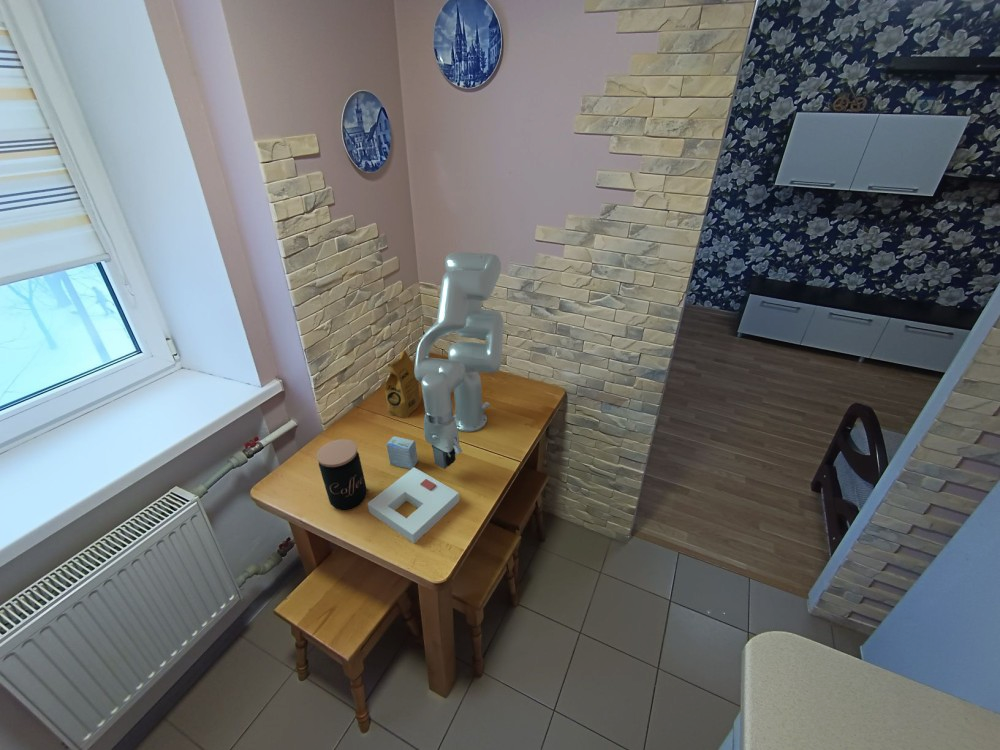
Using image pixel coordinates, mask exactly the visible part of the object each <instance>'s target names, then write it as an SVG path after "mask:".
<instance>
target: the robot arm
mask: <svg viewBox="0 0 1000 750" xmlns="http://www.w3.org/2000/svg"><path fill="white" fill-rule="evenodd" d="M444 265H445V266H444V267H445V271H446V272H444V274H443V276H442V279H441V285H440V286H441V287H440V291H439V293H440V294H439V301H438V306H437V307H438V309H437V317H436V320H435V322H434V324H433V325H431V326H430V327H429V328H428V329H427V330H426V331H425V333H424V334H423V335H422V337H421V339H420V341H419V342H418V345H417V347H416V351H415V352H416V354H415V360H414V366H415V367H414V374H415V378H416V379H417V380H418V383H420V385H421V391H422V399H423V404H424V405H423V407H424V412H425V414H424V418H423V434H424V439H425V441H426V442H427V443H428V444H430V445H431V448H432V449H433V446H435V447H437V448H439V449H441V450H442V451H444V452H446V454H447V456H446V462H447V466H448V467H449V466H451V465H452V464H454V462H455V461H456V460H455V457H456V455H460V454H461V453H463V449H462V448H461V446H460V438H459V437H460V436H459V431H460V432H465V433H470V432H471V433H472V432H473V433H474V432H476V431H479V430H481V429H483V428H484V427H485V425H487V421H488V420H487V419H488V417H487V415H486V414H485V413H484V412H485V411H486V409H487V408H489V407H490V406H491V405H490V403H489V402H488V401H485V402H484V403H483V399H482V397H483V396H482V395H483V394H482V380H481V379H482V378H481V376H480V374H479V373H483V374H484V373H485V374H495V373H498V372H499V370H500V368H501V365H502V364H501V363H502V358H503V357H502V356H503V355H502V354H503V343H504V342H503V341H504V318H503V315H502V314H501V313H500V312H499V311H498V310H490V309H484V308H482V307H483V306H482V305H483V304H482V303H483V302H484V301H488V299H490V298H491V296H492V294H493V292H494V289H495V287H496V284H497V283H498V280H499V278H500V275H501V270H502V263H501V259H500V257H499V256H497V254H494V253H488V252H487V253H485V252H471V251H470V252H469V251H468V252H467V251H457V252H456V251H455V252H451V253H448V255H446V256H445V260H444ZM451 333H455V334H456V335H458V337H461V338H467V339H477V340H486V341H487V343H486V342H485V343H481V342H473V341H457V342H453V343H452V344H451V345H450V346H449V348H448V351H447V357H448V359H445V358H436V357H429V355H430V351H431V349H432V346H433V345H434V344H435V343H436V342H437V341H438V340H439V339H441V338H442V337H444V336H446V335H449V334H451ZM452 393H453V398H454V411H455V413H454V412H453V403H452V402H453V401H452Z"/></svg>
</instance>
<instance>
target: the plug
mask: <svg viewBox="0 0 1000 750" xmlns="http://www.w3.org/2000/svg"><path fill="white" fill-rule="evenodd" d="M432 454H433V459H434V465H436V466H438V467H440V468H442V469H443V470H445V469H447V468H448V467H449V466H447V462H446V456H447V454H446V452H444V451H442V450H441V449H439V448H437V447H435V446H433V448H432ZM456 458H457V457H456V456H455V461H456V460H457V459H456Z"/></svg>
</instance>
